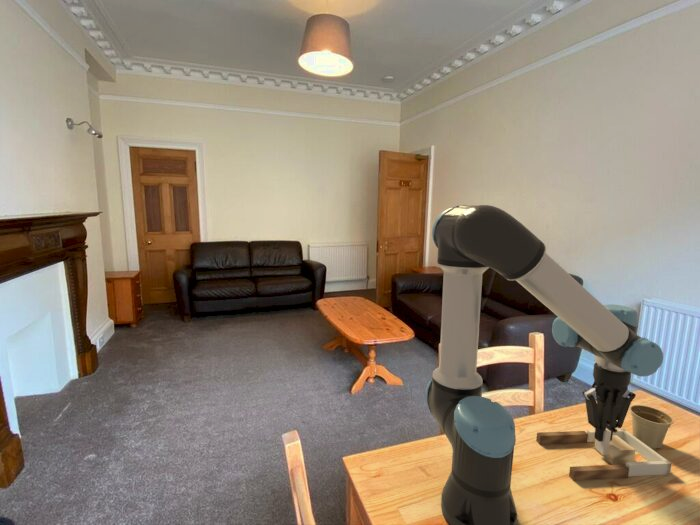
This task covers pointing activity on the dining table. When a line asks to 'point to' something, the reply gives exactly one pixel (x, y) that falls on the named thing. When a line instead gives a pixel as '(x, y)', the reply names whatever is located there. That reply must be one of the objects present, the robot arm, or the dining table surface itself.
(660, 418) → the flower pot
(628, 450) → the beige square block
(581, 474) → the slot rails
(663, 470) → the corral
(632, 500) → the dining table surface
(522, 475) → the dining table surface
